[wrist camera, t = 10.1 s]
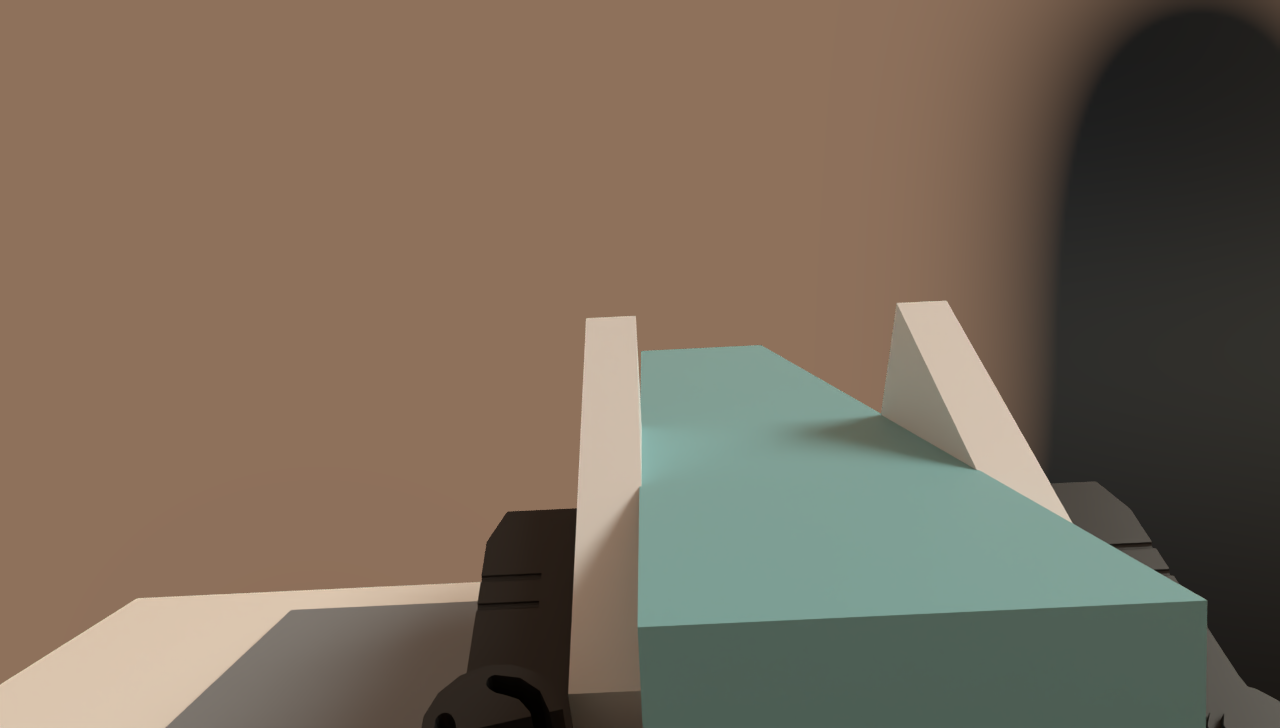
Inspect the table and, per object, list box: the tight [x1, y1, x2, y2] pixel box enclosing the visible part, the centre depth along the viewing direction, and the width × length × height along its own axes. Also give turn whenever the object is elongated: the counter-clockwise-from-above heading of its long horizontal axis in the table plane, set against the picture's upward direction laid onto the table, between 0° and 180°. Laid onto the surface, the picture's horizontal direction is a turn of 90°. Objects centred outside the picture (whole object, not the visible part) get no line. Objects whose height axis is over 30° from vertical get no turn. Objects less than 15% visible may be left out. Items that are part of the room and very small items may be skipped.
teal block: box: [637, 345, 1207, 728], centre depth 19 cm, size 24×4×4 cm, turn 0°
